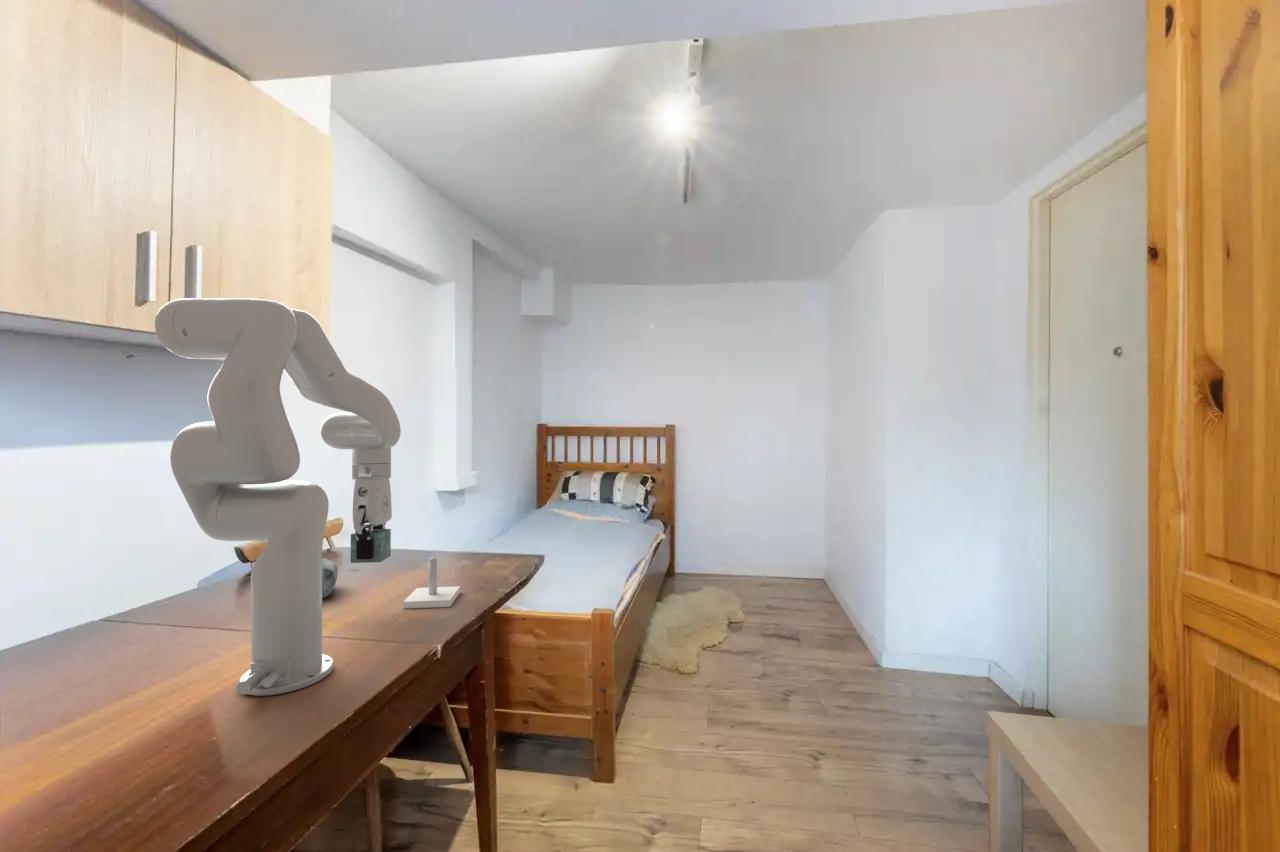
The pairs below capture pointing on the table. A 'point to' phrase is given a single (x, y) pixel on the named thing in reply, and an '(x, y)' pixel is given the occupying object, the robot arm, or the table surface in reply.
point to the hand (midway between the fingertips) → (371, 554)
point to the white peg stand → (432, 592)
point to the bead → (374, 546)
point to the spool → (328, 577)
